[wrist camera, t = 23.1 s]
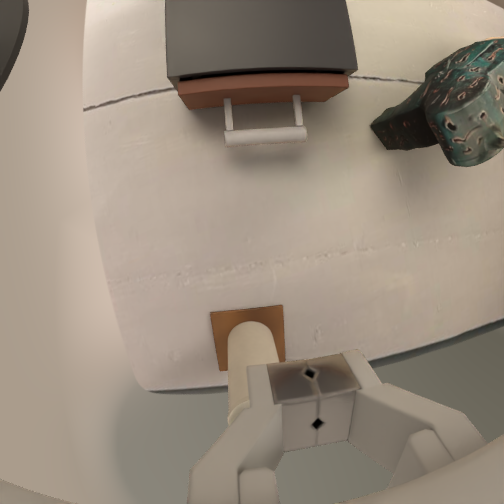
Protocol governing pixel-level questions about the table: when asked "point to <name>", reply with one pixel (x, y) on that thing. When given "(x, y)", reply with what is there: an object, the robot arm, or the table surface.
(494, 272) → the table surface
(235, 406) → the container
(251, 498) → the robot arm
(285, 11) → the cabinet
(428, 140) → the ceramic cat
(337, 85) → the drawer
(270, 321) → the coaster
